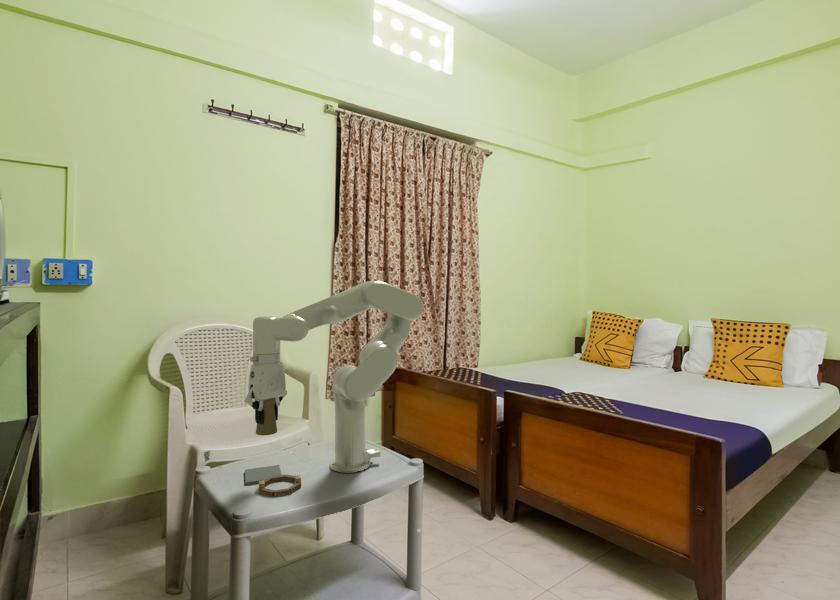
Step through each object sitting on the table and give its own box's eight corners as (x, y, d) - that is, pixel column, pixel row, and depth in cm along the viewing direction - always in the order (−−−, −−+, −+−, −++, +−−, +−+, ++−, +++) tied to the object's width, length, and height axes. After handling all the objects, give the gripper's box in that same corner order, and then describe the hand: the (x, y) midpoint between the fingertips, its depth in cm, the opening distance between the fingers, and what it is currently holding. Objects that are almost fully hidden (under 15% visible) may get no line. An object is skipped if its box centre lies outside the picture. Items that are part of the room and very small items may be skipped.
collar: (298, 476, 136) (298, 469, 136) (303, 491, 126) (303, 483, 126) (258, 482, 132) (258, 475, 132) (260, 499, 122) (260, 490, 122)
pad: (279, 467, 143) (279, 464, 143) (282, 479, 134) (282, 477, 134) (244, 472, 139) (244, 469, 139) (245, 485, 130) (245, 482, 130)
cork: (278, 434, 132) (278, 396, 132) (256, 436, 130) (256, 397, 129) (276, 428, 137) (276, 391, 137) (255, 430, 135) (255, 393, 135)
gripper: (249, 364, 124) (249, 431, 124) (298, 356, 138) (298, 417, 138) (233, 361, 128) (233, 426, 129) (281, 354, 142) (281, 413, 142)
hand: (266, 420), depth 133 cm, fingers closed on cork, 4 cm apart
